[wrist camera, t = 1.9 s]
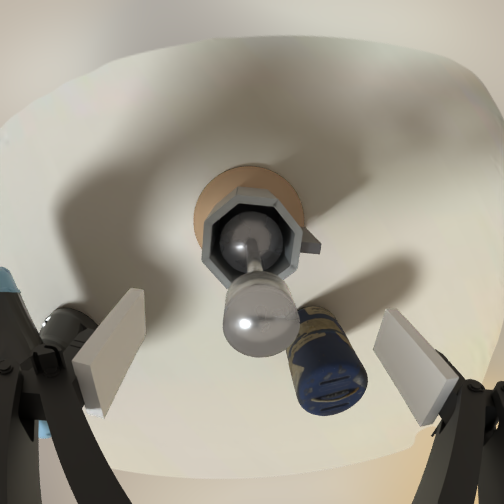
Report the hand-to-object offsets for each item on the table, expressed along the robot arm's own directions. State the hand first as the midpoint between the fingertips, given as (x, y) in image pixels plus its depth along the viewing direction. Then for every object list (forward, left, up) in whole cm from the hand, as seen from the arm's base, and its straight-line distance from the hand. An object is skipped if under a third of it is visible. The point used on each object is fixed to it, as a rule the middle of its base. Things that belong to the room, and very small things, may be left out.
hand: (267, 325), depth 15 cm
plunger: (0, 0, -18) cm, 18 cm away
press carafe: (0, 0, -30) cm, 30 cm away
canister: (+12, -17, -30) cm, 37 cm away
